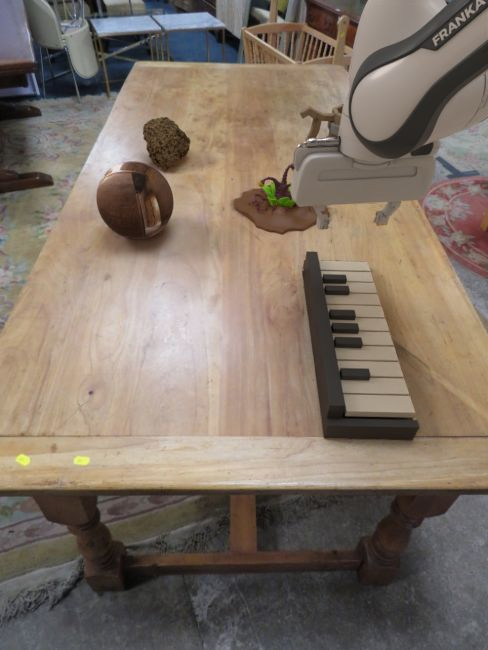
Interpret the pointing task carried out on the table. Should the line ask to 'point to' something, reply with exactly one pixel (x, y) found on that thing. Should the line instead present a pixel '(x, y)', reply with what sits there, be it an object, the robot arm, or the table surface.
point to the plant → (276, 207)
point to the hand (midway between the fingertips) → (351, 225)
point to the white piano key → (378, 406)
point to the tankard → (318, 116)
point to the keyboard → (352, 352)
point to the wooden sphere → (134, 200)
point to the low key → (344, 266)
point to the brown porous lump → (165, 142)
